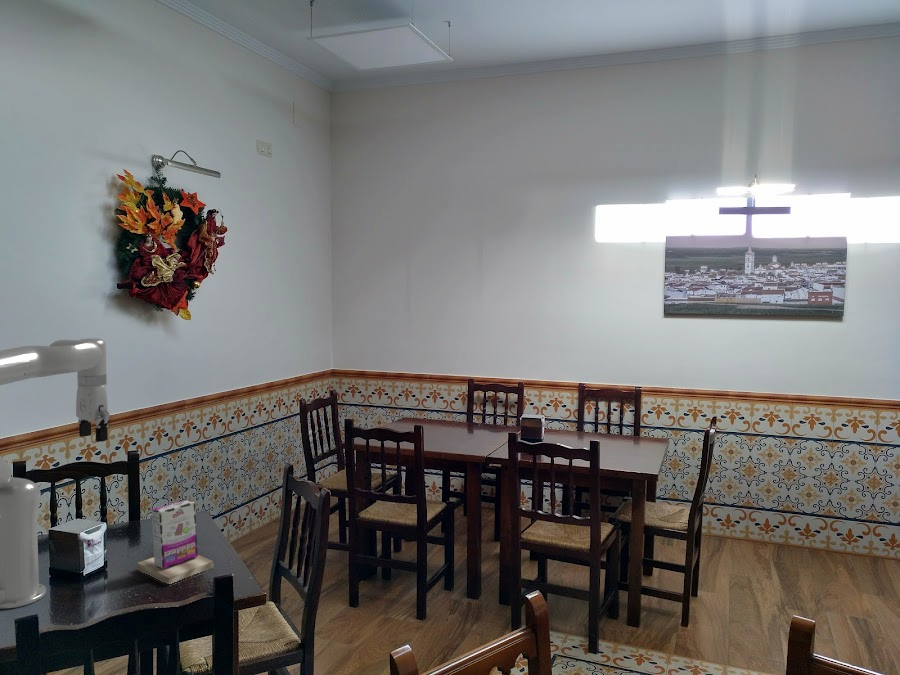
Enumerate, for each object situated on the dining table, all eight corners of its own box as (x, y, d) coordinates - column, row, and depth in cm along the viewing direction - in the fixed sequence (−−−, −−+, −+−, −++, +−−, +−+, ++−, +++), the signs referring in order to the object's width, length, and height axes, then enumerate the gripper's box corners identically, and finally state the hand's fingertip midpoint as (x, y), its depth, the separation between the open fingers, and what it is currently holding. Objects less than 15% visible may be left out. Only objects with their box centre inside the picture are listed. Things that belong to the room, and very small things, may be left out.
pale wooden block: (169, 588, 186) (168, 577, 185) (137, 572, 195) (137, 562, 195) (213, 571, 197) (213, 561, 197) (181, 557, 206) (181, 547, 206)
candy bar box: (188, 554, 202) (186, 499, 201) (198, 557, 199) (196, 501, 198) (152, 566, 192) (150, 508, 192) (162, 569, 190) (160, 511, 189)
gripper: (64, 379, 201) (66, 436, 202) (93, 385, 191) (95, 445, 192) (90, 376, 207) (92, 432, 208) (120, 382, 197) (121, 440, 198)
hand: (93, 438), depth 200 cm, fingers open, 9 cm apart
